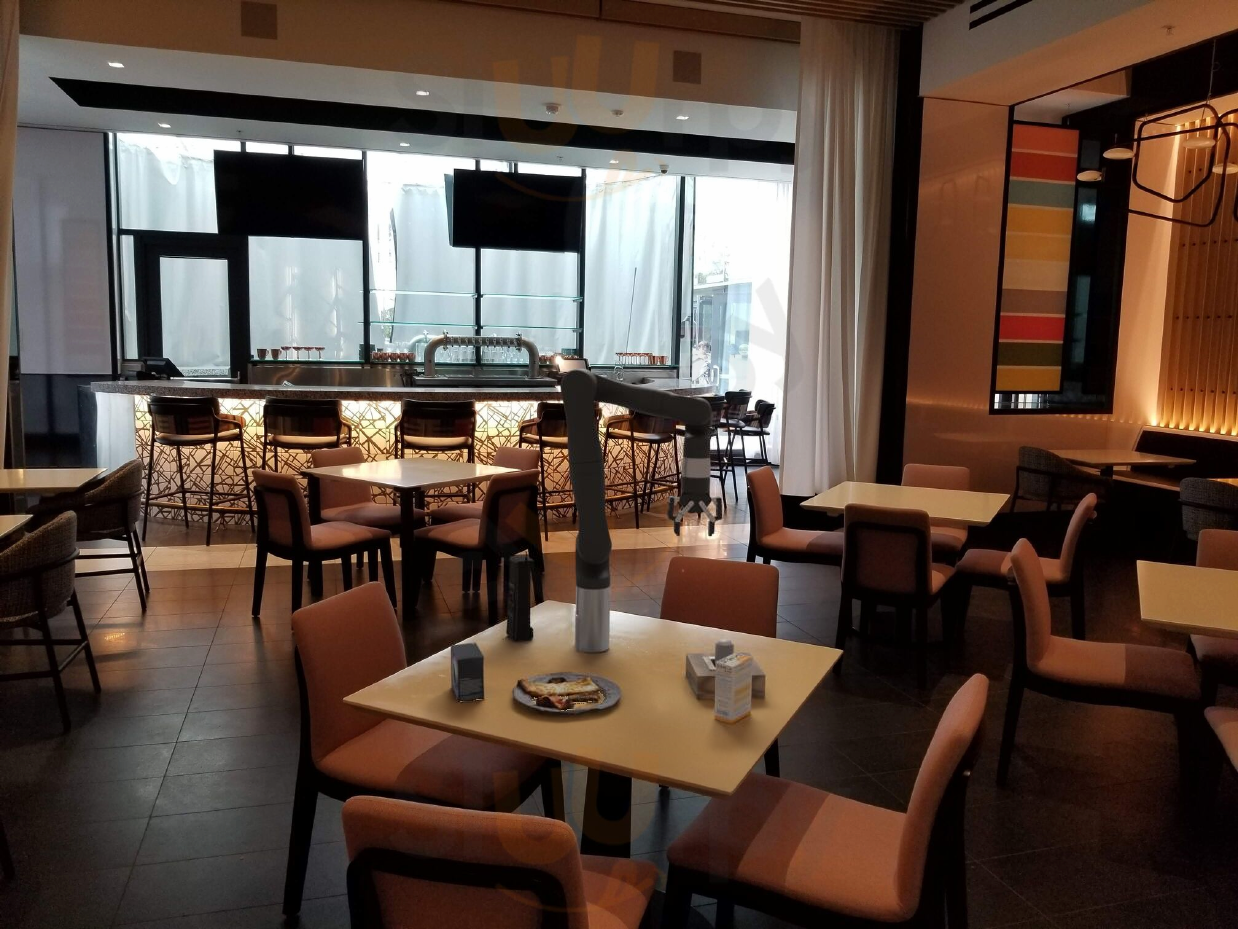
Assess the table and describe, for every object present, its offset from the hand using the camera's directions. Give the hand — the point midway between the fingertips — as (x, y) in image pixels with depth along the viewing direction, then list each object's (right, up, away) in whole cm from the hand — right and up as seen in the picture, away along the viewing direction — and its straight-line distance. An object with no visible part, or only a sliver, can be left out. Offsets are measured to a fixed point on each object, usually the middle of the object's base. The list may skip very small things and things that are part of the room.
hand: (694, 535), depth 236 cm
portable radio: (-48, -30, +16) cm, 58 cm away
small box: (-55, -35, -27) cm, 70 cm away
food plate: (-32, -36, -29) cm, 56 cm away
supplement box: (+5, -37, -38) cm, 53 cm away
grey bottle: (+5, -33, -20) cm, 39 cm away
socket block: (+6, -35, -20) cm, 40 cm away
